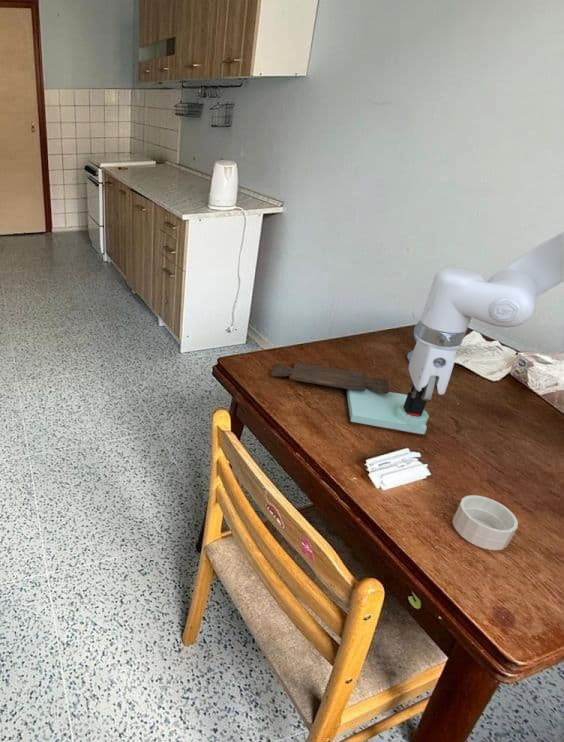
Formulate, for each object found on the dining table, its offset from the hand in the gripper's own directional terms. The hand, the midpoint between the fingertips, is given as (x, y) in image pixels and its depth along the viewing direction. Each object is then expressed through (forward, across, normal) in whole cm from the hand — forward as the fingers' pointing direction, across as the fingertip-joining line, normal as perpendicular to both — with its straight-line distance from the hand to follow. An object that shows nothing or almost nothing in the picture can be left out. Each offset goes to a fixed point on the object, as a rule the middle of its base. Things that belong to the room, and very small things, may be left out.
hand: (412, 410), depth 99 cm
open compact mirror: (+4, +30, -10) cm, 32 cm away
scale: (+4, +3, +4) cm, 7 cm away
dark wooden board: (+3, +12, +16) cm, 20 cm away
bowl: (+4, -28, -6) cm, 28 cm away
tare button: (+2, 0, 0) cm, 2 cm away
